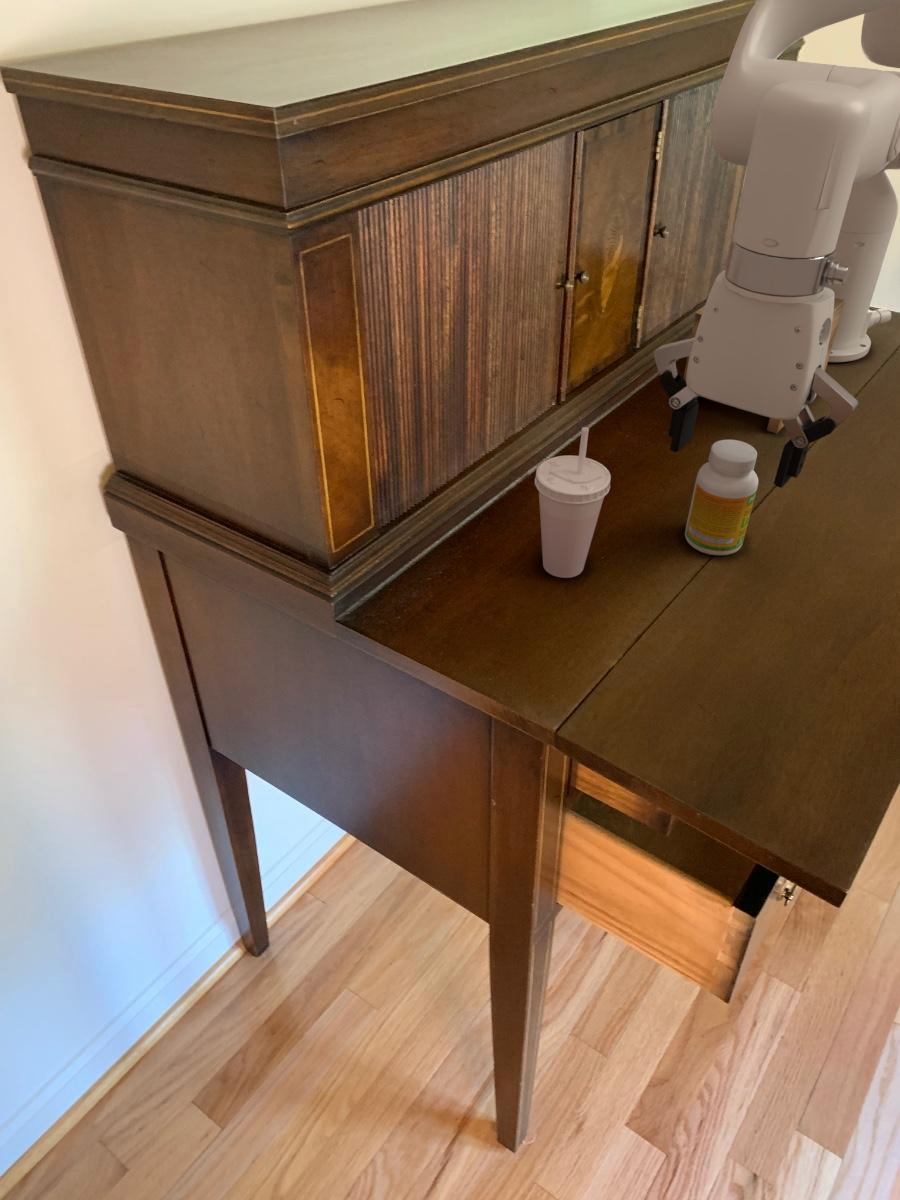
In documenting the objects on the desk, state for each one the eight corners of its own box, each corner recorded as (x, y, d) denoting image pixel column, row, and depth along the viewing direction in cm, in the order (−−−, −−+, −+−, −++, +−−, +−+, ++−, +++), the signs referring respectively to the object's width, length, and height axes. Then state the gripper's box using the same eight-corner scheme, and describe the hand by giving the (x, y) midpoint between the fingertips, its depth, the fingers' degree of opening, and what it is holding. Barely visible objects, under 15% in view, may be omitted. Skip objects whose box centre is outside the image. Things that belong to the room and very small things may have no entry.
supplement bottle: (744, 560, 84) (768, 469, 78) (684, 553, 85) (704, 462, 79) (740, 527, 88) (763, 438, 82) (683, 521, 89) (702, 432, 83)
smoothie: (595, 591, 80) (615, 452, 72) (523, 581, 81) (534, 443, 73) (601, 549, 85) (620, 413, 76) (532, 540, 86) (544, 405, 77)
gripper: (907, 279, 69) (842, 477, 79) (693, 233, 77) (661, 418, 87) (876, 308, 64) (812, 514, 75) (652, 256, 72) (623, 449, 83)
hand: (730, 462), depth 81 cm, fingers open, 9 cm apart
